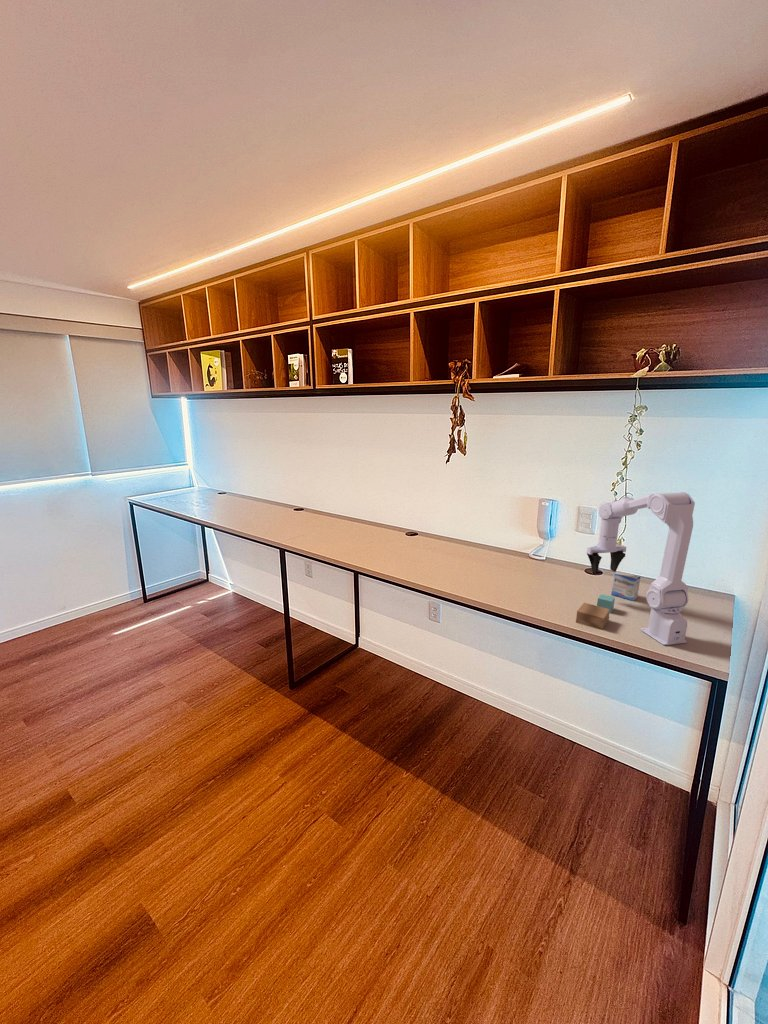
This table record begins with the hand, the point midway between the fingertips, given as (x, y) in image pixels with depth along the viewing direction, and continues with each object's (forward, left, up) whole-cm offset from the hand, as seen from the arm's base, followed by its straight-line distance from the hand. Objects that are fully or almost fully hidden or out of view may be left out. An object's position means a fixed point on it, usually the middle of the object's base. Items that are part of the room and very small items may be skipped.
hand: (603, 571), depth 158 cm
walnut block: (-16, +15, -10) cm, 24 cm away
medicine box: (-1, -9, -10) cm, 14 cm away
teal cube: (-9, +5, -10) cm, 14 cm away
